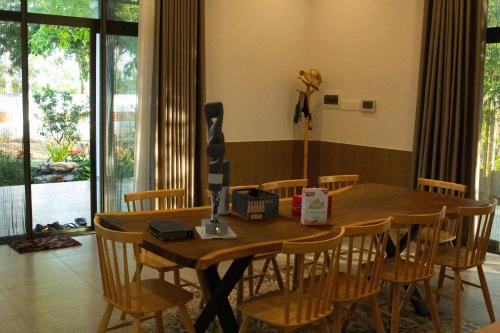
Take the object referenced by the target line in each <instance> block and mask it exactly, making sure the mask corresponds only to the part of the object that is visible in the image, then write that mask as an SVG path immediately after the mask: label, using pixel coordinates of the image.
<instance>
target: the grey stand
mask: <svg viewBox="0 0 500 333" xmlns="http://www.w3.org/2000/svg"><path fill="white" fill-rule="evenodd" d="M195 228H196V229H195V230H196V232H197V233H198V236H201V237H200V238H201V239H202V240H213V239H212V238H222V239H237V238H238V237H237V236H238V235H237V234H236V233H235V232H234V230H233V229H231V227H230V226H229V223H228V222H227V221H226V220H225V219H224V218H218V220H217V222H212V218H203V219H202V218H201V226H200V225H199V226H195Z"/></svg>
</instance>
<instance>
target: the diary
mask: <svg viewBox="0 0 500 333" xmlns="http://www.w3.org/2000/svg"><path fill="white" fill-rule="evenodd" d="M146 224H148V227H146V230H147V229H148V228H149V230H151V231H152V232H153V233H155V234H156V235H157V236H159V237H160V238H161V239H171V238H177V239H184V238H183V237H186V238H190V237H191V236H192V237H191V238H194V236H195V231H194V230H193V229H192V228H190V227H189V226H187V225H186V224H184V223H182V222H180V220H178V219H159V220H149V221H146ZM157 236H156V237H157ZM187 236H188V237H187Z"/></svg>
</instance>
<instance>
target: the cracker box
mask: <svg viewBox="0 0 500 333" xmlns="http://www.w3.org/2000/svg"><path fill="white" fill-rule="evenodd" d="M301 194H302V195H301V214H300V215H301V216H300V217H301V218H300V224H301V225H303V226H326V225H327V220H328V219H327V217H328V205H329V204H328V203H329V189H328V188H326V187H320V188H319V187H317V188H316V187H313V188H311V187H309V188H307V187H305V188H302V193H301Z"/></svg>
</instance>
